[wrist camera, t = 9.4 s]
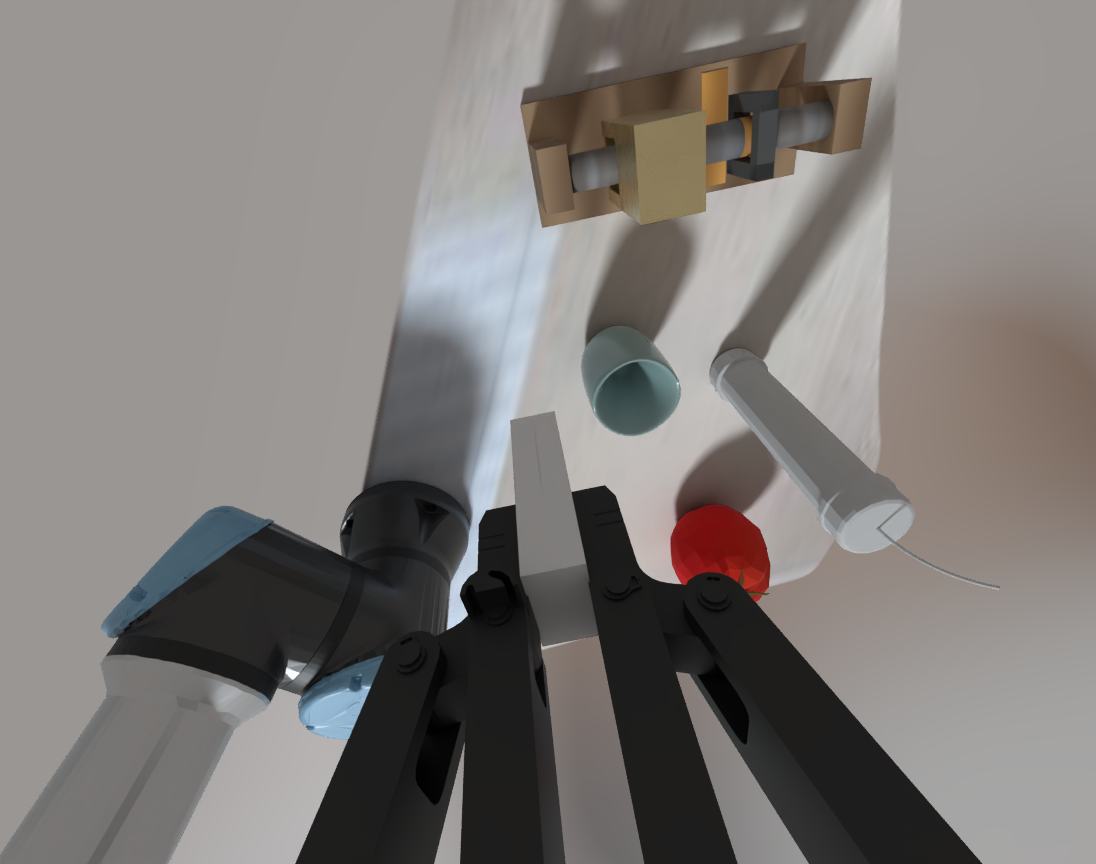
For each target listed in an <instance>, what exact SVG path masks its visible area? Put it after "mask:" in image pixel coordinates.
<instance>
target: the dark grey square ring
mask: <svg viewBox="0 0 1096 864" xmlns="http://www.w3.org/2000/svg"><path fill="white" fill-rule="evenodd" d="M779 93H780V90H765V91H747V92H741V93H736V94H732V95H728V120H733V119H737V118H742V117H747V116H750V113H751V112H753V117H752V139H751V157H749V156H745V157H741V158H736V159H731V160H727V174H730V175H734V176H737V177H741V178H744V179H748V180H751V181H755V182H758V181H762V180H767V179H772V178H774V164H775V150H776V136H777V122H778V108H779Z"/></svg>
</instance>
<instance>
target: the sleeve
mask: <svg viewBox="0 0 1096 864" xmlns="http://www.w3.org/2000/svg"><path fill="white" fill-rule="evenodd" d="M601 127H602V137H603V147H608V146H613V145H615V146H616V158H617V169H618V180H619V184H615V185H610V186H607V187H608V196H609V200H610V201H611V202H612V203H613V204H615V205H616V206H617V207H618V208H620V209H621V210H622V211H623V212H625V213H626V214H627V215H629V216H630V217H631V218H632V219H634V220H635V221H636V222H637V223H639V224H640V225H644V224H649V223H654V222H658V221H663V220H668V219H672V218H677V217H682V216H686V215H691V214H696V213H701V212H705V211H706V110H674V109H655V110H650V111H645V112H641V113H636V114H632V115H627V116H622V117H618V118H613V119H609V120H604V121H601Z"/></svg>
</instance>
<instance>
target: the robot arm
mask: <svg viewBox="0 0 1096 864" xmlns="http://www.w3.org/2000/svg"><path fill="white" fill-rule="evenodd" d="M510 423H511V439H512V455H513V471H514V487H515V503H516V505H511V506H506V507H501V508H496V509H491V510H486V512H485V514H484V516H483V518H482V520H481V521H480V523H479V542H478V552H479V553H478V571H477V572H475V573H474V574H472V575H471V576H470V577H469V578H468V579H467V580H466V582H465V583H464V584H463V586H462V589H461V593H460V597H461V599H462V602H463V604H464V606H465V609H466V611H467V613H468V616H467V617H466V618H465V619H464V620H463V621H462V622H460V623H459V624H457V625H456V626H454V627H452V628H451V629H449V630H447V622H448V609H449V596H450V584H451V581H452V579H453V577H454V575H455V573H456V571H457V569H458V567H459V565H460V563H461V561H462V559H463V557H464V555H465V553H466V550H467V547H468V540H469V522H468V518H467V516H466V513H465V512H464V510H463V508H462V507H461V506H460V504H459V503H458V502H457V501H456V500H455V499H454V498H452V497H451V496H450V495H448V494H447V493H445V492H443V491H442V490H440V489H437V488H435V487H432V486H430V485H426V484H422V483H417V482H408V481H398V482H389V483H384V484H380V485H377V486H374V487H372V488H369V489H367V490H366V491H364V492H362V493H361V494H359V495H358V496H357V497H356V498H355V499H354V500H353V501H352V502H351V504H350V505H349V507H348V508H347V511H346V513H345V516H344V519H343V522H342V525H341V529H340V543H341V552H342V556H341V555H339V554H336V553H334V552H332V551H330V550H328V549H326V548H324V547H322V546H320V545H318V544H316V543H314V542H312V541H310V540H308V539H306V538H303V537H302V536H299V535H297V534H295V533H293V532H291V531H289V530H287V529H285V528H283V527H281V526H279V525H277V524H275V523H274V521H273V520H271V519H266V520H265V519H262V518H260V517H257V516H255V515H252V514H250V513H248V512H245V511H243V510H241V509H238V508H235V507H231V506H220V507H216V508H213V509H211V510H209V511H207V512H206V513H205V514H203V515H202V516H201V517H200V518H199V519H198V520H197V521H196V522H195V523H194V524H193V525H192V526H191V527H190V528H189V529H188V530H187V531H186V532H185V533H184V534H183V535H182V536H181V537H180V538H179V539H178V540H177V541H176V542H175V543H174V544H173V546H172V547H171V548H170V549H169V550H168V551H167V552H166V553H165V554H164V555H163V556H162V557H161V558H160V559H159V560H158V562H157V563H156V564H155V565H154V566H153V567H152V568H151V569H150V570H149V571H148V572H147V573H146V574H145V576H144V577H143V578H142V579H141V580H140V581H139V582H138V584H137V585H136V586H135V587H134V588H133V589H132V590H131V591H130V592H129V593H128V594H127V596H126V597H125V598H124V599H123V600H122V601H121V602H120V603H119V604H118V605H117V606H116V607H115V608H114V609H113V611H112V612H111V613H110V614H109V615H108V616H107V618H106V619H105V620H104V622H103V623H102V626H101V628H102V630H103V631H104V632H106V633H107V635H108V637H110V638H116V637H118V640H117V641H116V643H115V644H114V646H113V647H112V648H111V650H110V651H109V652H108V654H107V655H106V657H105V658H104V659H103V661H102V662H101V669H102V673H103V676H104V680H105V684H106V688H107V694H106V698H105V700H104V701H103V703H102V704H101V706H100V707H99V709H98V710H97V711H96V713H95V714H94V716H93V717H92V719H91V720H90V722H89V723H88V725H87V726H86V728H85V729H84V731H83V732H82V734H81V735H80V737H79V738H78V740H77V741H76V743H75V744H74V746H73V747H72V749H71V750H70V752H69V753H68V755H67V756H66V757H65V759H64V761H63V762H62V763H61V765H60V766H59V768H58V769H57V771H56V772H55V774H54V775H53V777H52V778H51V780H50V782H49V783H48V784H47V786H46V787H45V789H44V790H43V792H42V793H41V795H40V796H39V798H38V799H37V800H36V802H35V803H34V805H33V806H32V808H31V810H30V811H29V812H28V814H27V815H26V817H25V818H24V820H23V821H22V823H21V824H20V826H19V827H18V829H17V830H16V832H15V833H14V835H13V836H12V838H11V839H10V841H9V842H8V844H7V845H6V847H5V848H4V849H3V851H2V852H1V854H0V864H168V863H169V861H170V859H171V857H172V855H173V853H174V851H175V849H176V847H177V845H178V843H179V841H180V839H181V837H182V835H183V833H184V831H185V829H186V827H187V825H188V823H189V821H190V818H191V817H192V815H193V813H194V810H195V808H196V806H197V804H198V802H199V800H200V798H201V796H202V794H203V792H204V790H205V788H206V786H207V784H208V782H209V780H210V778H211V776H212V774H213V772H214V770H215V768H216V766H217V764H218V762H219V760H220V758H221V756H222V754H223V752H224V750H225V748H226V746H227V744H228V742H229V740H230V738H231V735H232V734H233V731H234V730H235V729H236V728H237V727H238V726H239V725H240V724H242V723H243V722H245V721H247V720H249V719H250V718H252V717H254V716H256V715H257V714H259V713H261V712H263V711H264V710H266V709H267V708H268V706H269V704H270V702H271V700H272V698H273V696H274V694H275V691H276V689H277V688H280V689H283V690H286V691H289V692H292V693H295V694H298V695H300V696H302V697H301V699H300V701H299V704H298V708H299V718H300V721H301V723H302V724H303V725H306V728H307V729H308V730H309V731H311V732H313V733H315V734H317V735H320V736H323V737H327V738H334V739H344V740H348V741H347V744H346V746H345V749H344V751H343V753H342V756H341V758H340V761H339V763H338V765H337V768H336V770H335V772H334V774H333V777H332V779H331V781H330V784H329V786H328V788H327V791H326V793H325V796H324V798H323V800H322V802H321V805H320V808H319V810H318V812H317V814H316V817H315V819H314V821H313V824H312V826H311V828H310V831H309V833H308V835H307V838H306V840H305V842H304V845H303V847H302V849H301V852H300V854H299V856H298V859H297V861H296V863H295V864H434V861H435V857H436V853H437V849H438V845H439V841H440V837H441V834H442V829H443V825H444V821H445V817H446V814H447V810H448V806H449V801H450V797H451V794H452V789H453V786H454V781H455V778H456V774H457V770H458V766H459V761H460V758H461V754H462V750H463V745H464V742H465V751H464V753H465V754H464V777H463V804H462V829H461V855H460V864H565V854H564V844H563V835H562V825H561V816H560V805H559V795H558V785H557V775H556V765H555V756H554V747H553V736H552V726H551V716H550V706H549V696H548V686H547V676H546V668H545V665H544V661H543V658H542V652H541V643H542V646H547V645H553V644H558V643H563V642H568V641H573V640H578V639H583V638H588V637H593V636H598V635H599V640H600V644H601V649H602V654H603V659H604V664H605V669H606V674H607V679H608V684H609V689H610V694H611V699H612V704H613V709H614V714H615V719H616V724H617V729H618V734H619V739H620V744H621V749H622V754H623V759H624V764H625V769H626V774H627V779H628V784H629V789H630V793H631V799H632V803H633V809H634V814H635V819H636V824H637V829H638V833H639V839H640V844H641V849H642V853H643V859H644V864H737V861H736V858H735V854H734V851H733V848H732V845H731V842H730V839H729V836H728V833H727V830H726V827H725V823H724V820H723V818H722V814H721V811H720V808H719V805H718V802H717V799H716V796H715V793H714V789H713V787H712V783H711V780H710V777H709V774H708V771H707V768H706V765H705V762H704V759H703V755H702V752H701V749H700V746H699V743H698V740H697V737H696V734H695V731H694V728H693V724H692V721H691V718H690V715H689V712H688V709H687V706H686V703H685V700H684V697H683V694H682V690H681V687H680V684H679V681H678V678H677V675H676V672H683V673H689V674H690V675H691V677H692V678H693V680H694V681H695V683H696V685H697V686H698V688H699V690H700V691H701V693H702V694H703V696H704V697H705V699H706V701H707V702H708V704H709V706H710V707H711V709H712V710H713V712H714V713H715V715H716V717H717V718H718V720H719V721H720V723H721V725H722V726H723V728H724V729H725V731H726V733H727V734H728V736H729V737H730V739H731V740H732V742H733V744H734V745H735V747H736V748H737V750H738V752H739V753H740V754H741V756H742V758H743V759H744V761H745V763H746V764H747V766H748V767H749V769H750V771H751V772H752V774H753V775H754V777H755V779H756V780H757V782H758V783H759V785H760V786H761V788H762V790H763V791H764V793H765V794H766V796H767V798H768V799H769V801H770V802H771V804H772V806H773V807H774V809H775V810H776V812H777V814H778V815H779V817H780V818H781V820H782V821H783V823H784V825H785V826H786V828H787V829H788V831H789V833H790V834H791V836H792V837H793V839H794V840H795V842H796V844H797V845H798V847H799V848H800V850H801V851H802V853H803V855H804V856H805V858H806V860H807V861H808V863H809V864H982V863H981V862H980V860H979V859H978V858H977V857H976V856H975V855H974V854H973V852H972V851H971V850H970V849H969V848H968V847H967V846H966V844H965V843H964V842H963V841H962V840H961V839H960V837H959V836H958V835H957V834H956V833H955V832H954V831H953V829H952V828H951V827H950V826H949V825H948V824H947V822H945V820H944V819H943V818H942V817H941V816H940V815H939V813H938V812H937V811H936V810H935V809H934V808H933V806H932V805H931V804H930V803H929V802H928V801H927V799H926V798H925V797H924V796H923V795H922V794H921V793H920V791H919V790H918V789H917V788H916V787H915V786H914V784H913V783H912V782H911V781H910V780H909V779H908V778H907V776H906V775H905V774H904V773H903V772H902V771H901V769H900V768H899V767H898V766H897V765H896V764H895V763H894V761H893V760H892V759H891V758H890V757H889V756H888V754H887V753H886V752H885V751H884V750H883V749H882V748H881V746H880V745H879V744H878V743H877V742H876V741H875V740H874V739H873V737H872V736H871V735H870V734H869V733H868V731H867V730H866V729H865V728H864V727H863V726H862V725H861V723H860V722H859V721H858V720H857V719H856V718H855V716H853V714H852V713H851V712H850V711H849V710H848V708H847V707H846V706H845V705H844V704H843V703H842V701H841V700H840V699H839V698H838V697H837V696H836V695H835V693H834V692H833V691H832V690H831V689H830V688H829V687H828V685H827V684H826V683H825V682H824V681H823V680H822V678H821V677H820V676H819V675H818V674H817V673H816V671H815V670H814V669H813V668H812V667H811V666H810V665H809V663H808V662H807V661H806V660H805V659H804V658H803V657H802V655H801V654H800V653H799V652H798V651H797V650H796V648H795V647H794V646H793V645H792V644H791V643H790V642H789V640H788V639H787V638H786V637H785V636H784V635H783V633H782V632H781V631H780V630H779V629H778V628H777V627H776V625H775V624H774V623H773V622H772V621H771V620H770V618H769V617H768V616H767V615H766V614H765V613H764V612H763V610H762V609H761V608H760V607H759V606H758V605H757V603H756V602H755V601H754V600H753V599H752V598H751V597H750V595H749V594H748V593H747V592H746V591H745V590H744V588H743V587H742V586H741V585H740V584H739V583H737V582H736V581H735V580H734V579H733V578H731V577H729V576H727V575H724V574H721V573H716V572H705V573H701V574H697V575H695V576H694V577H692V578H691V579H690V580H688V582H687V584H686V585H683V584H672V583H665V582H660V581H657V580H655V579H652V578H651V577H649V576H648V575H646V574H645V573H644V572H643V571H642V570H641V569H640V567H639V565H638V563H637V561H636V558H635V555H634V552H633V548H632V545H631V542H630V539H629V536H628V533H627V530H626V527H625V523H624V521H623V517H622V514H621V512H620V508H619V505H618V502H617V499H616V496H615V495H614V494H613V493H612V492H611V491H610V490H609V489H608V488H607V487H606V486H605V485H604V486H599V487H594V488H589V489H584V490H579V491H575V492H571V489H570V484H569V479H568V474H567V469H566V465H565V460H564V455H563V450H562V445H561V441H560V436H559V431H558V426H557V421H556V417H555V412H554V411H553V412H548V413H543V414H538V415H534V416H529V417H524V418H519V419H514V420H510ZM540 640H541V641H540Z"/></svg>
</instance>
